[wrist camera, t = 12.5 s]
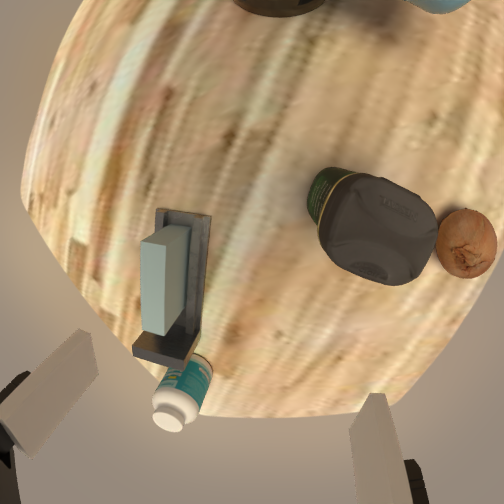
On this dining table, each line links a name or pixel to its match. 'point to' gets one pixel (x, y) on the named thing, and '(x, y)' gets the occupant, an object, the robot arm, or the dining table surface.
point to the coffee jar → (372, 225)
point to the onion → (466, 243)
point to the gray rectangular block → (164, 277)
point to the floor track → (189, 321)
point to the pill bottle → (181, 394)
